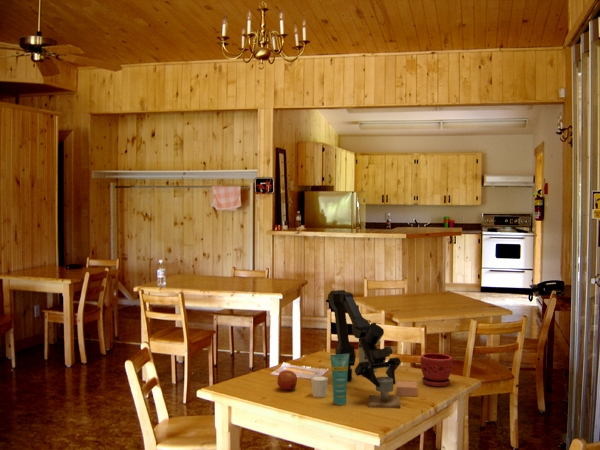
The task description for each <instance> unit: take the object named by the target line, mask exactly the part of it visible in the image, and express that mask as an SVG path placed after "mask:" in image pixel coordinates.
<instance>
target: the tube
mask: <svg viewBox="0 0 600 450" xmlns="http://www.w3.org/2000/svg"><path fill="white" fill-rule="evenodd" d="M329 358H330V364H331V376H332V377H331V378H332V398H333V401H332V402H333V404H334V405H335V406H336V405H338V406H343V405H344V406H345V405H346V404H347V395H348V393H347V388H348V381H347V375H348V362H349V354H341V355H336V354H330V357H329Z"/></svg>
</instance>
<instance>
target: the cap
mask: <svg viewBox="0 0 600 450" xmlns="http://www.w3.org/2000/svg"><path fill="white" fill-rule="evenodd" d="M376 378H377V381H378V383H379V387H377V386H375V391H376V392H379V393H380V392H388V393H391V392H393V391H394V385H393V378H391V377H388V376H378V377H377V376H376Z"/></svg>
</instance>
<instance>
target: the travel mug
mask: <svg viewBox="0 0 600 450" xmlns="http://www.w3.org/2000/svg"><path fill="white" fill-rule="evenodd" d="M362 339H363V338H358V344H359V343H360V341H361V340H362ZM364 357H365V354H364V351H363V349H362V347H361V348H359V347H358V363H359V362H366V361H367V362H368V360H365V358H364ZM376 371H377V369H374V372H376Z"/></svg>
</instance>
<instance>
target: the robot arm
mask: <svg viewBox="0 0 600 450" xmlns="http://www.w3.org/2000/svg"><path fill="white" fill-rule="evenodd" d="M327 300H328V302H329V306H330V307H331V308H332V310H333V311H334V318H335V327H336V329H335V330H336V335H337V337H336V339H337V346H336V347H335V350H334V351H335V355H341V354H349V362H348V375H347V383H348V382H349V383H350V382H351V381H352V380H353V368H352V367H354V366H355V364H356V358H357V356H356V352H355V346H354V345H352V344H351V342H350V338H349V330H348V321H347V315H348V317H349V320H350V321H351V323H352V325H351V331H352V335H353V336H354V338H356V339H359V338H363V339H362V340H361V341H360V343H359V342H358V349H359V348H361V347H362V349H363V351H364V354H365V357H364V358H365V360H368V362H367V361H366V362H359V361H358V364H357V366H356V367H355V369H354V373H355V375H356V377H359V376H361V377H362V378H365V379H367V380H368V381H370V382H371V384H373V385H374V386H375V387H376V386H377V387H379V383H378V381H377V376H376V375H375V371H374V369H376V370H377V369H383V368H385V369H386V371H385V374H386V377H391V378H393V386H394V385H395V384H396V373H395V372H396V371H395V370H397V368H398V367H399V366H400V365H401V364H402V361H401V359H400V357H397V356H396V357H391V356H390V355H392V354H393V349H392V347H391V346H390V345H387V346H385V347H384V348H378V346H377V345H378V343H379V342H380V340H381V339H382V337H383V336H384V335H385V331H384V328H382V326H381V325H378V324H377V323H376V322H371V323H370V322H369V320H368V319H366V318H365V317H363V315H362V313H361V311H360V309H359V307H358V305H357V303H356V301H355V298H354V294H353V293H352V292H347V291H345V290H344V289H338V290H331V291H330V292H329V293H328V294H327ZM346 313H347V315H346ZM388 357H390V358H389V359H388V360H387V358H388ZM386 360H387V361H386Z"/></svg>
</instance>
